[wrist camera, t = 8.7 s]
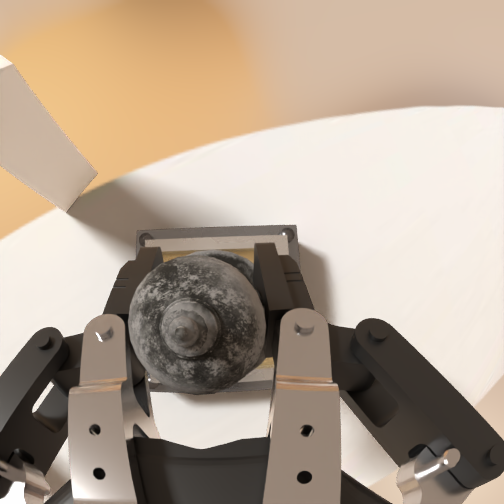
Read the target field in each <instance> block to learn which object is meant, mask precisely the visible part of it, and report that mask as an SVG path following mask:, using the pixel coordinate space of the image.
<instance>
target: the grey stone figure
mask: <svg viewBox="0 0 504 504" xmlns="http://www.w3.org/2000/svg"><path fill="white" fill-rule="evenodd" d="M253 268H254V263H252V262H251V261H250V260H248V259H247V258H244V257H242V256H240V255H237V254H235V253H233V252H228V251H221V250H214V249H213V250H204V251H196V252H194V253H191V254H189V255H186V256H181V257H176V258H174V259H171V260H169V261H166V262H164V263H161V264H160V265H159V266H157V267H156V268H155V269H153V270H152V271H151V272H150V273H148V274H147V275H146V277H145V278H144V279H143V281H142V282H141V283H140V285H139V286H138V287H137V289H136V291H135V294H134V296H133V299H132V301H131V304H130V310H129V319H128V326H129V334H130V341H131V343H132V346H133V348H134V351H135V353H136V356H137V358H138V359H139V361H140V362H141V363H142V365H143V366H144V367H145V369H146V370H147V372H148V373H150V374H151V375H152V376H153V377H154V378H155V379H157V380H158V381H159V382H160V383H162V384H163V385H165V386H167V387H170V388H172V389H174V390H176V391H178V392H183V393H188V394H194V395H201V394H213V393H216V392H219V391H222V390H225V389H227V388H230V387H232V386H233V385H234V384H236V383H237V382H238V381H240V380H241V379H242V378H244V377H245V376H246V375H247V374H249V373H250V372H251V371H253V370H254V369H255V368H257V367H258V366H259V365H261V364H262V363H263V361H264V360H265V359H266V358H265V355H264V349H263V346H264V340H265V332H266V322H265V308H264V303H263V301H262V298H261V296H260V293H259V291H258V290H257V288H256V287H255V286H254V283H253Z"/></svg>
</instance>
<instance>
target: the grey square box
mask: <svg viewBox="0 0 504 504" xmlns="http://www.w3.org/2000/svg"><path fill="white" fill-rule="evenodd" d="M265 242H274V243H275V246H276V249H277V252H278V255H289V256H290V257H291V258H293V259H294V260H295V261H296V262H297V264H298V267H299V269H300V261H299V249H298V237H297V227H296V225H267V226H231V227H204V228H180V229H159V230H140V231H137V242H136V258H137V255H138V253H139V250H140V248H141V247H158V246H159V247H160V248H161V251H162V256H163V261H164V262H166V261H169V260H171V259H174V258H176V257H181V256H186V255H189V254H191V253H194V252H196V251H204V250H213V249H214V250H221V251H228V252H233V253H235V254H237V255H240V256H242V257H244V258H247V259H248V260H250V261H251V262H252V263H254V244H255V243H265ZM300 274H301V273H300ZM146 373H147V375H148V382H149V390H150V392H173V393H183V392H178V391H176V390H174V389H172V388H170V387H167V386H165V385H163V384H162V383H160V382H159V381H158V380H157V379H155V378H154V377H153V376H152V375H151V374H150V373H148V372H147V370H146ZM273 373H274V361H273V357H271V358H266V359H265V360H264V361H263V363H262V364H261V365H259V366H258V367H257V368H255V369H254V370H253V371H251V372H250V373H249V374H247V375H246V376H245V377H244V378H242V379H241V380H240V381H238V382H237V383H236V384H234V385H233V386H232V387H230V388H227V389H225V390H222V391H219V392H237V391H252V390H264V389H272V382H273Z"/></svg>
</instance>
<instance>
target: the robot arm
mask: <svg viewBox="0 0 504 504" xmlns="http://www.w3.org/2000/svg"><path fill="white" fill-rule="evenodd" d="M161 263H164V261H163V256H162V251H161V248H160V247H159V246H158V247H141V248H140V250H139V253H138V255H137V258H136V260H133V261H128V262H127V263H126V264H125V265H124V266H123V267H122V268H121V269H120V271H119V273H118V276H117V278H116V279H117V280H116V281H115V283H114V286H113V288H112V291H111V293H110V296H109V298H108V301H107V304H106V306H105V309H104V312H103V314H102V315H100V316H98V317H96V318H94V319H92V320H91V321H90V322H89V323H88V324H87V326H86V328H85V330H84V333H82V334H78V335H73V336H69V337H65V338H64V337H63V336H62V334H61V333H60V331H59V330H58V329H56V328H53V327H46V328H43V329H41V330H39V331H38V332H36V333H35V334H34V335H33V336H32V337H31V339H30V340H29V341H28V342H27V343H26V345H25V346H24V347H23V348H22V349H21V351H20V352H19V353H18V354H17V356H16V357H15V358H14V359H13V361H12V362H11V363H10V364H9V366H8V367H7V368H6V370H5V371H4V372H3V374H2V375H1V376H0V504H392V503H390V502H389V501H387V500H385V499H384V498H382V497H381V496H379V495H377V494H376V493H374V492H373V491H371V490H370V489H368V488H367V487H365V486H364V485H362V484H361V483H359V482H358V481H356V480H355V479H354V478H352V477H351V476H349V475H348V474H347V473H345V472H344V471H342V470H341V422H340V398H339V395H340V397H341V398H342V399H343V400H344V402H345V403H346V404H347V405H348V406H349V408H350V409H351V410H352V411H353V413H354V414H355V415H356V416H357V417H358V419H359V420H360V421H361V422H362V423H363V425H364V426H365V427H366V428H367V429H368V431H369V432H370V433H371V434H372V435H373V437H374V438H375V439H376V440H377V441H378V443H379V444H380V445H381V446H382V447H383V449H384V450H385V451H386V452H387V453H388V455H389V456H390V457H391V458H392V459H393V460H394V462H395V463H396V464H397V465H398V466H399V467H400V469H399V471H398V474H397V486H398V488H399V489H400V491H401V493H402V495H403V504H462V503H463V502H464V500H465V499H466V498H467V497H468V495H469V494H470V493H471V491H472V490H473V489H475V488H476V487H479V486H481V485H483V484H485V483H487V482H489V481H491V480H493V479H495V478H497V477H499V476H500V475H501V474H502V473H503V471H504V441H503V439H502V438H501V437H500V436H499V435H498V434H497V432H496V431H495V430H494V429H493V428H492V427H491V426H490V425H489V424H488V423H487V421H486V420H485V419H484V418H483V417H482V416H481V415H480V414H479V413H478V412H477V411H476V410H475V409H474V408H473V406H472V405H471V404H470V403H469V402H468V401H467V400H466V399H465V398H464V397H463V396H462V395H461V394H460V393H459V392H458V391H457V390H456V389H455V388H454V387H453V386H452V385H451V384H450V383H449V382H448V381H447V380H446V379H445V378H444V377H443V376H442V375H441V374H440V373H439V372H438V371H437V370H436V369H435V368H434V367H433V366H432V365H431V364H430V363H429V362H428V361H427V360H426V359H425V358H424V357H423V356H422V355H421V354H420V353H419V352H418V351H417V350H416V349H415V348H414V347H413V346H412V345H411V344H410V343H409V342H408V341H407V340H406V339H405V338H404V337H403V336H402V335H401V334H400V333H398V332H397V331H396V330H395V329H394V328H393V327H392V326H391V325H390V324H388V323H387V322H385V321H383V320H380V319H376V318H369V319H365V320H363V321H361V322H360V323H359V324H358V325H357V326H356V329H353V328H346V327H339V326H334V325H331V324H329V323H327V321H326V319H325V318H324V317H323V316H322V315H321V314H320V313H318V312H317V311H315V310H314V307H313V304H312V302H311V299H310V296H309V293H308V291H307V288H306V285H305V283H304V281H303V277H302V275H301V274H300V269H299V267H298V264H297V262H296V261H295V260H294V259H293V258H291V257H290V256H289V255H278V252H277V249H276V246H275V243H274V242H265V243H255V244H254V268H253V283H254V286H255V287H256V288H257V290H258V291H259V293H260V296H261V298H262V301H263V303H264V308H265V322H266V332H265V340H264V346H263V349H264V355H265V358H271V357H273V361H274V373H273V382H272V392H271V401H270V410H269V419H268V426H267V433H266V437H262V438H250V439H241V440H237V441H234V442H230V443H227V444H223V445H219V446H215V447H211V448H207V449H195V448H191V447H187V446H184V445H180V444H176V443H173V442H169V441H166V440H163V439H161V438H160V435H159V432H158V430H157V427H156V424H155V421H154V416H153V410H152V404H151V397H150V390H149V382H148V375H147V373H146V369H145V367H144V366H143V365H142V363H141V362H140V361H139V359H138V358H137V356H136V353H135V351H134V348H133V346H132V343H131V341H130V334H129V326H128V319H129V310H130V304H131V301H132V299H133V296H134V294H135V291H136V289H137V287H138V286H139V285H140V283H141V282H142V281H143V279H144V278H145V277H146V275H147V274H148V273H150V272H151V271H152V270H153V269H155V268H156V267H157V266H159V265H160V264H161ZM50 381H51V382H52V383H53V385H54V386H53V388H52V389H51V390H50V392H49V393H48V395H47V396H46V398H45V399H44V401H43V402H42V404H41V405H40V406H39V408H38V409H37V411H36V412H34V413H32V408H33V406H34V404H35V402H36V401H37V399H38V398H39V397H40V395H41V394H42V392H43V391H44V389H45V388H46V387H47V385H48V384H49V382H50ZM67 437H68V445H69V462H70V474H71V479H70V480H69V481H68V482H67V483H66V484H65V485H63V486H62V487H61V488H60V489H59V490H58V491H57V492H56V493H55V494H54V495H53V496H52V497H51V498H49V499H48V500H47V501H46V502H45V503H44V495H48V494H49V493H50V486H49V484H48V483H47V482H46V481H45V478H44V477H45V475H46V473H47V471H48V470H49V468H50V466H51V464H52V463H53V461H54V459H55V457H56V456H57V454H58V452H59V450H60V449H61V447H62V445H63V444H64V442H65V440H66V439H67Z"/></svg>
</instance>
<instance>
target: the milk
mask: <svg viewBox="0 0 504 504" xmlns="http://www.w3.org/2000/svg"><path fill="white" fill-rule="evenodd" d="M0 166H1V167H3V168H4V169H5V170H7V171H8V172H9V173H11V174H12V175H13V176H15V177H16V178H17V179H19V180H20V181H21V182H23V183H24V184H25V185H27V186H28V187H30V188H31V189H32V190H34V191H36V192H37V193H38V194H40V195H41V196H43V197H44V198H45V199H47V200H48V201H50V202H51V203H52V204H54V205H55V206H57V207H58V208H60V209H61V210H63V211H64V212H67V211H68V209H69V208H70V207H71V205H72V204H73V203H74V202H75V200H76V199H77V198H78V197H79V195H80V194H81V193H82V192H83V190H84V189H85V188H86V187H87V186H88V184H89V183H90V182H91V181H92V180H93V179H94V177H95V176H96V175H97V174H98V173H97V171H96V170H95V169H94V168H93V167H92V165H91V164H90V163H89V162H88V161H87V160H86V158H85V157H84V156H83V155H82V154H81V153H80V151H79V150H78V149H77V148H76V146H75V145H74V144H73V143H72V141H71V140H70V139H69V138H68V136H66V134H65V133H64V132H63V130H62V129H61V128H60V127H59V125H58V124H57V123H56V121H55V120H54V119H53V118H52V116H51V115H50V114H49V112H48V111H47V110H46V109H45V107H44V106H43V105H42V103H41V102H40V100H39V99H38V98H37V96H36V95H35V94H34V92H33V91H32V90H31V88H30V87H29V85H28V84H27V83H26V82H25V80H24V78H23V77H22V76H21V74H20V73H19V71H18V70H17V68H16V67H15V65H14V64H13V63H11V62H10V61H9V60H7V59H6V58H4V57H3V56H2V55H0Z"/></svg>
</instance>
